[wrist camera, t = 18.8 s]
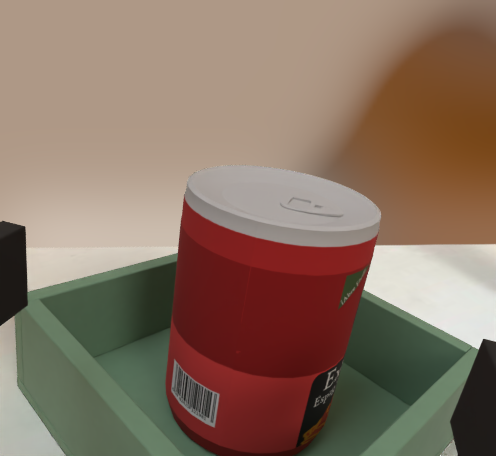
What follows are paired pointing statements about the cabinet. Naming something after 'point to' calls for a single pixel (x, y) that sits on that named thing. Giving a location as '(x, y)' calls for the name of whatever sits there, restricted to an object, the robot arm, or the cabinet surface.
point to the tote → (155, 366)
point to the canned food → (264, 305)
